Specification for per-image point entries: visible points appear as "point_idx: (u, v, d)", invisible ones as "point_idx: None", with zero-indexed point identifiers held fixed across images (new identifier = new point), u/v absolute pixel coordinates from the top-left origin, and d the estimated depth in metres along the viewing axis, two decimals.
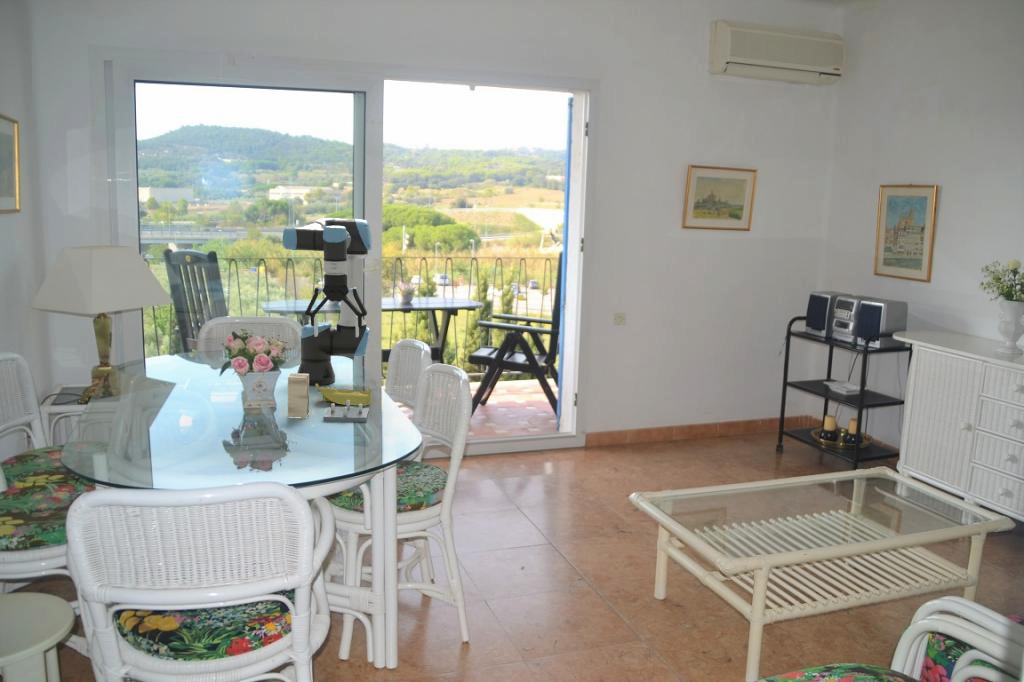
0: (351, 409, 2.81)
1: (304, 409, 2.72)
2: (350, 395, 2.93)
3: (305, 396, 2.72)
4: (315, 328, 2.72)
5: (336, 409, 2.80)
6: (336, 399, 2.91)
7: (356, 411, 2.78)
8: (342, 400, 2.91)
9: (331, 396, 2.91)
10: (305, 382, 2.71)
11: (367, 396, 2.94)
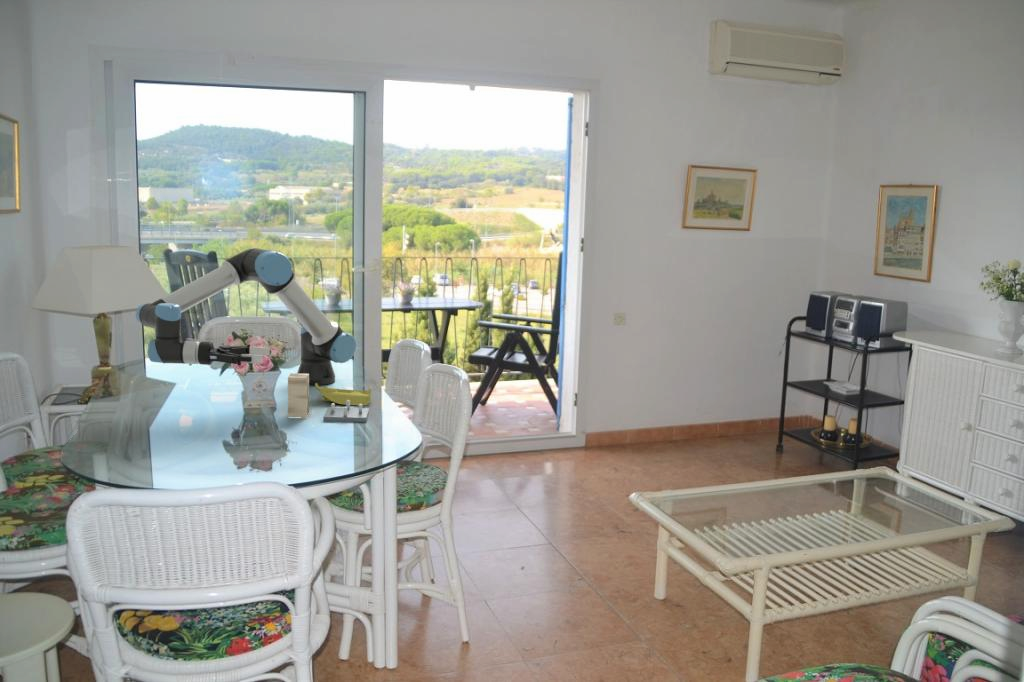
0: (351, 409, 2.81)
1: (304, 409, 2.72)
2: (349, 395, 2.93)
3: (305, 396, 2.72)
4: (261, 355, 2.77)
5: (336, 409, 2.80)
6: (335, 399, 2.91)
7: (356, 411, 2.78)
8: (341, 399, 2.92)
9: (330, 396, 2.91)
10: (305, 382, 2.71)
11: (366, 396, 2.94)
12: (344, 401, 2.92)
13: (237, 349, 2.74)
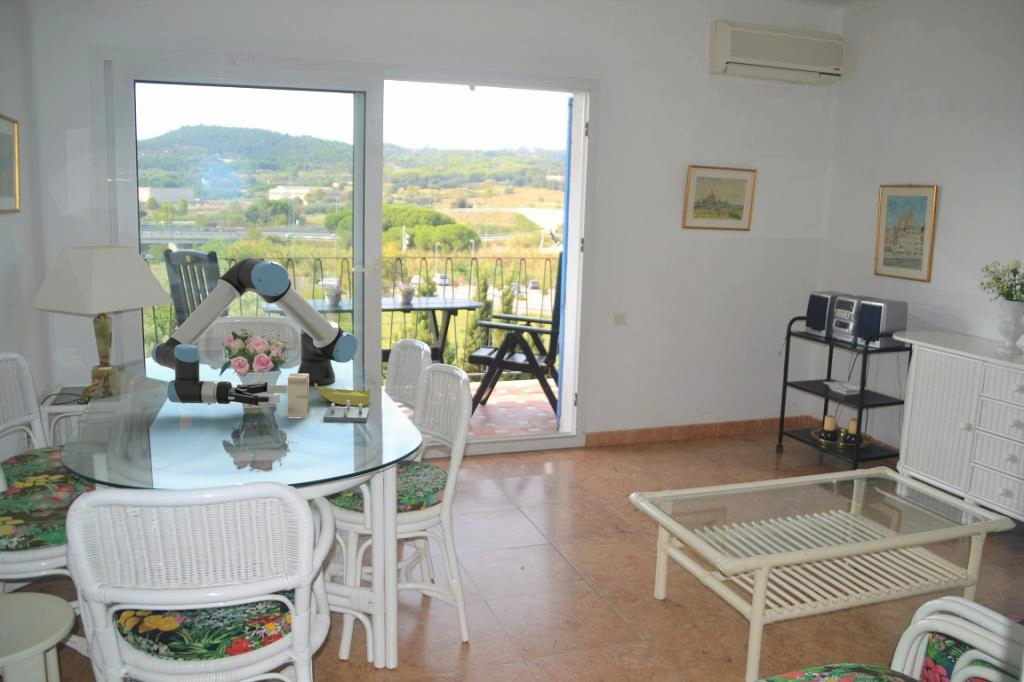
0: (351, 409, 2.81)
1: (304, 409, 2.72)
2: (349, 395, 2.93)
3: (305, 396, 2.72)
4: (278, 392, 2.80)
5: (336, 409, 2.80)
6: (335, 399, 2.91)
7: (356, 411, 2.78)
8: (340, 399, 2.91)
9: (330, 396, 2.91)
10: (305, 382, 2.71)
11: (366, 396, 2.94)
12: (343, 401, 2.91)
13: (255, 387, 2.76)
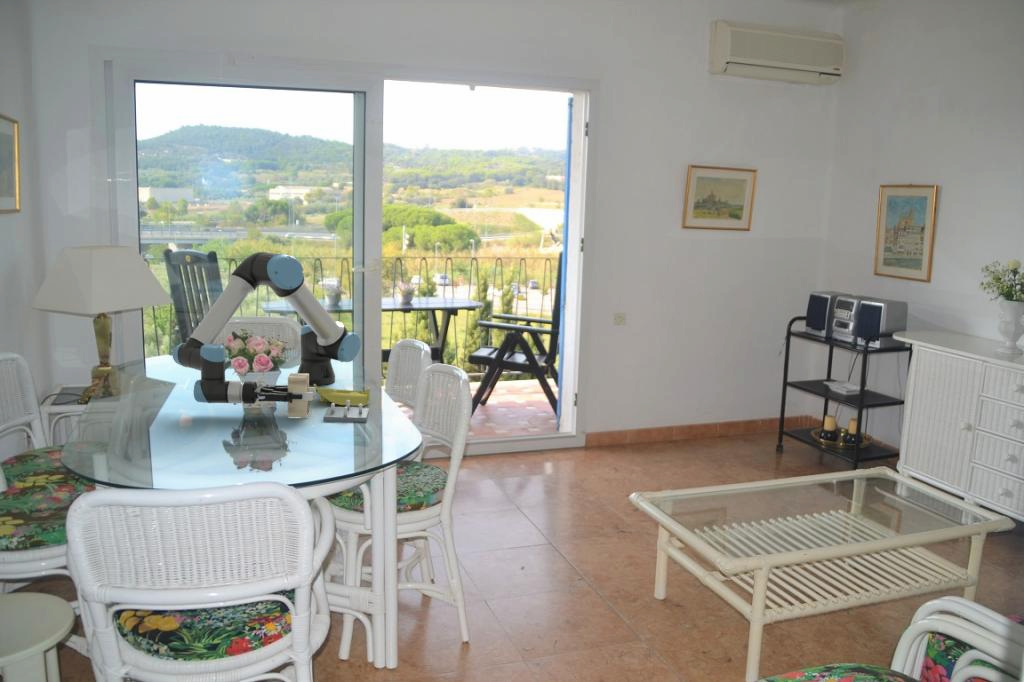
0: (351, 409, 2.81)
1: (304, 409, 2.72)
2: (348, 395, 2.92)
3: None
4: None
5: (336, 409, 2.80)
6: (334, 399, 2.90)
7: (356, 411, 2.78)
8: (340, 400, 2.91)
9: (329, 396, 2.90)
10: (305, 382, 2.71)
11: (365, 396, 2.94)
12: (343, 402, 2.91)
13: (281, 389, 2.76)
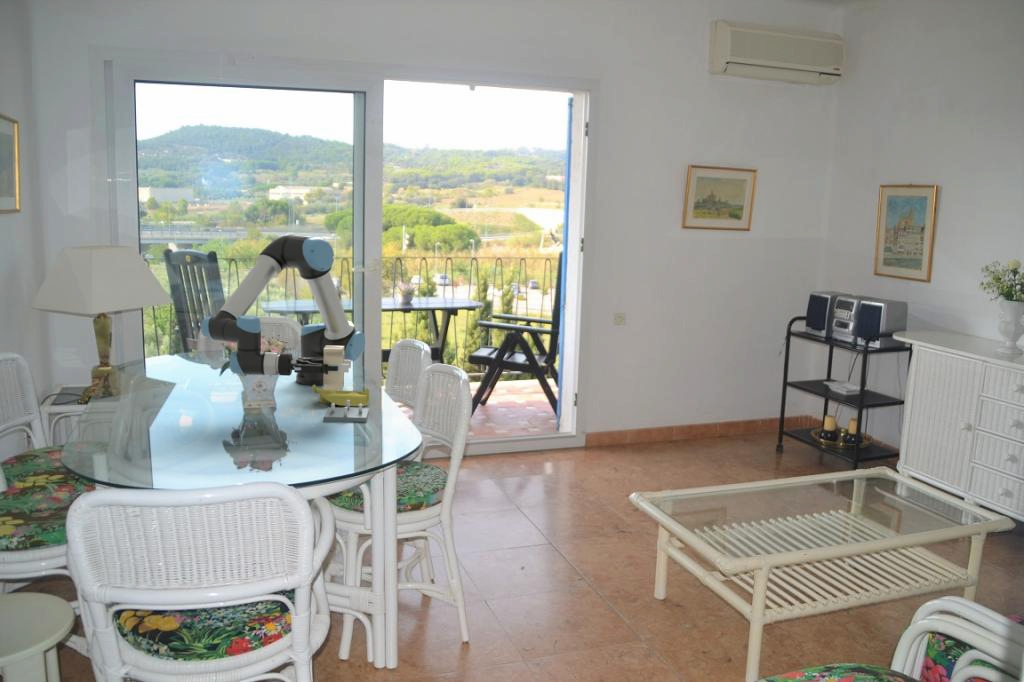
0: (351, 409, 2.81)
1: (339, 381, 2.71)
2: (348, 396, 2.92)
3: None
4: None
5: (336, 409, 2.80)
6: (334, 400, 2.89)
7: (356, 411, 2.78)
8: (340, 400, 2.90)
9: (329, 397, 2.89)
10: (341, 354, 2.69)
11: (365, 396, 2.94)
12: (343, 402, 2.90)
13: (317, 361, 2.74)
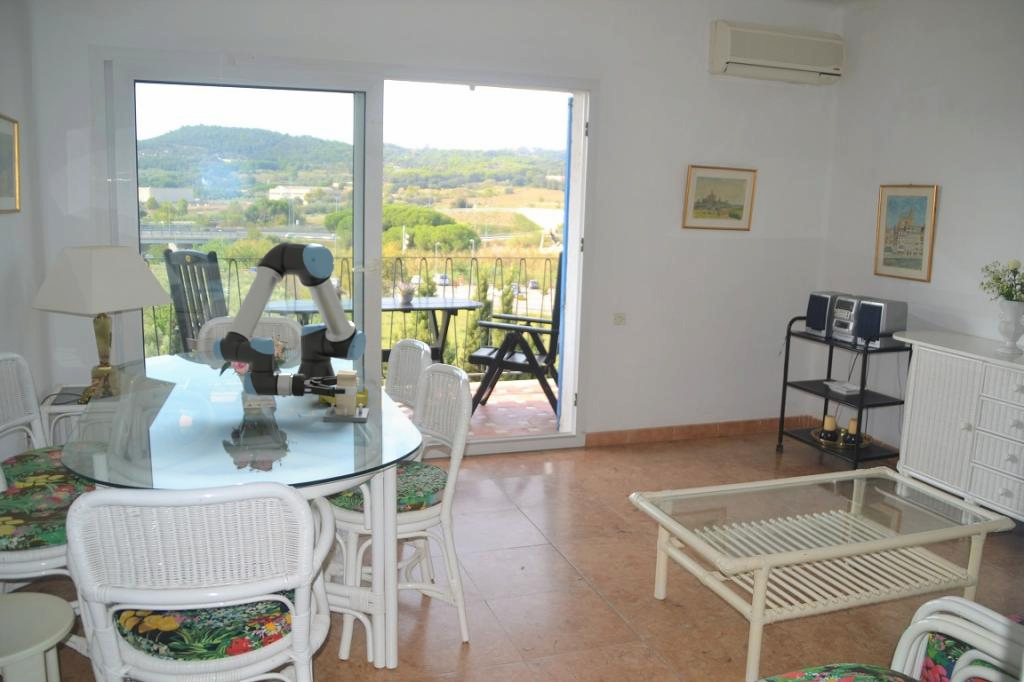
0: None
1: (352, 406, 2.74)
2: None
3: None
4: None
5: (336, 409, 2.80)
6: (333, 400, 2.89)
7: (356, 411, 2.78)
8: None
9: (328, 397, 2.89)
10: (354, 379, 2.72)
11: (364, 397, 2.93)
12: None
13: (328, 380, 2.79)
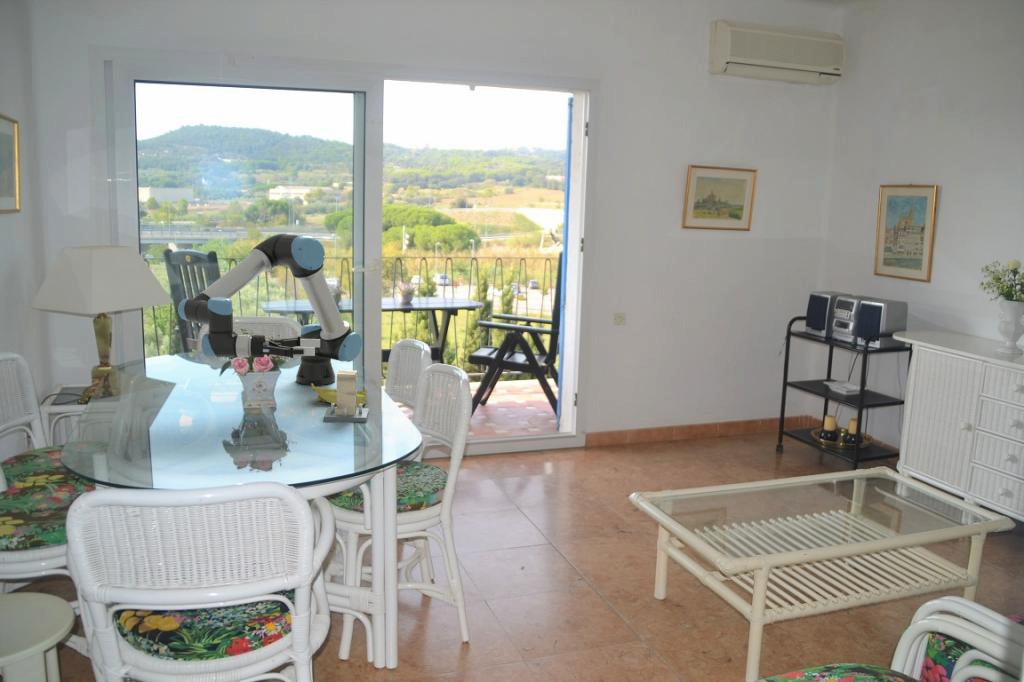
0: None
1: (352, 406, 2.74)
2: None
3: (354, 393, 2.73)
4: (311, 346, 2.78)
5: (336, 409, 2.80)
6: (331, 399, 2.90)
7: (356, 411, 2.78)
8: None
9: (326, 396, 2.91)
10: (354, 379, 2.72)
11: (362, 396, 2.93)
12: None
13: (288, 341, 2.75)
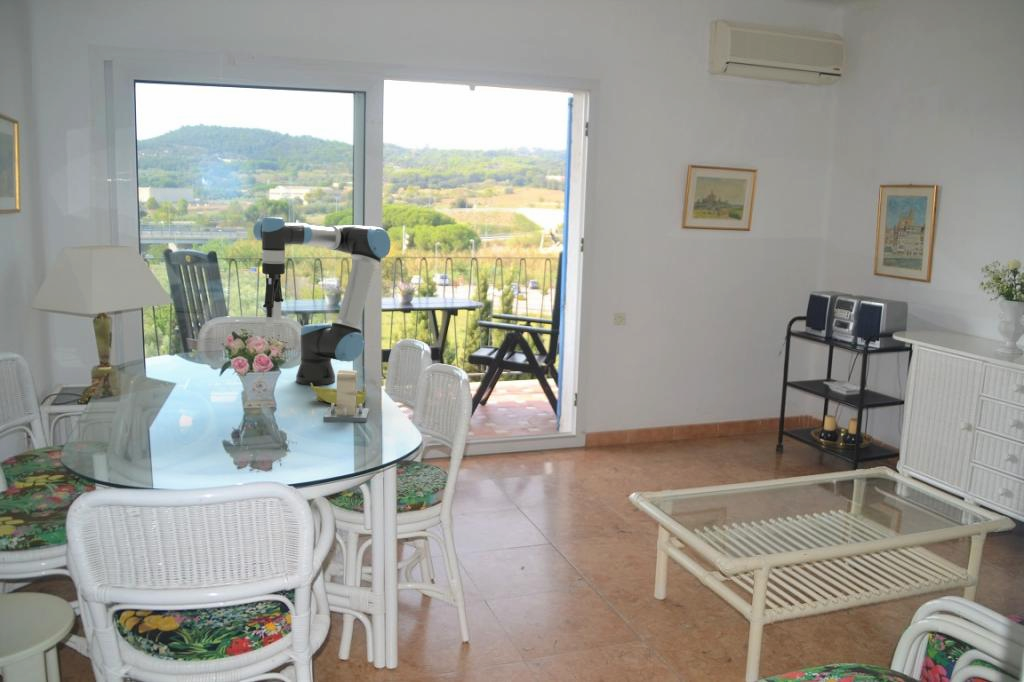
0: None
1: (352, 406, 2.74)
2: None
3: (354, 393, 2.73)
4: None
5: (336, 409, 2.80)
6: (330, 399, 2.91)
7: (356, 411, 2.78)
8: (336, 399, 2.91)
9: (325, 396, 2.91)
10: (354, 379, 2.72)
11: (361, 396, 2.93)
12: None
13: (278, 293, 2.88)
